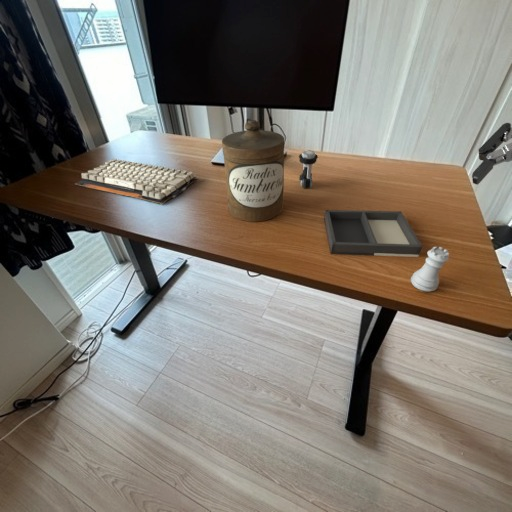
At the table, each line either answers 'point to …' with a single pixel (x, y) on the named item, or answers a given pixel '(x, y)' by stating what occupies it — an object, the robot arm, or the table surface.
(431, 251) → the rook chess piece
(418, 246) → the sorting tray
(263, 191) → the wooden container
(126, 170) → the mechanical keyboard
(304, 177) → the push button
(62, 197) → the table surface
